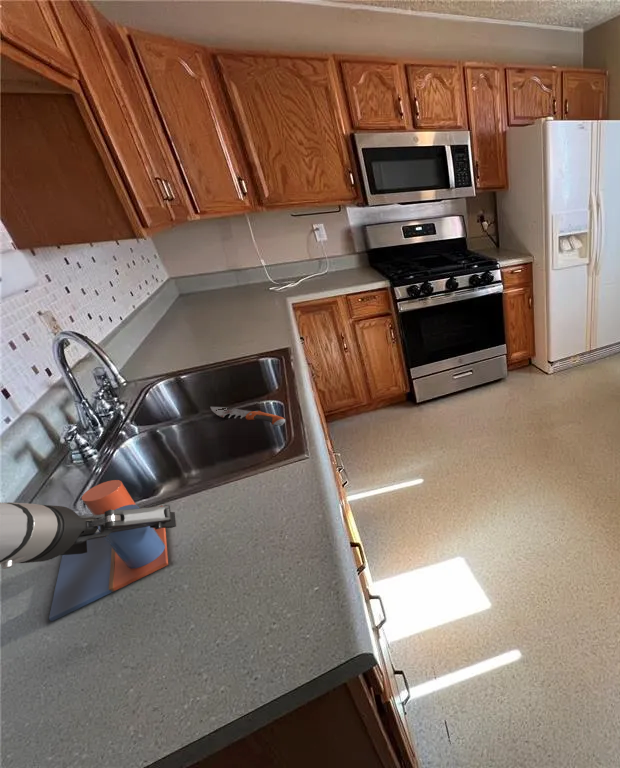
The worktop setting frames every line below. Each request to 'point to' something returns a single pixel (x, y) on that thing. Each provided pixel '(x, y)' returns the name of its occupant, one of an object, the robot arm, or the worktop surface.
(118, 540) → the blue canister
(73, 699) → the worktop surface
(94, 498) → the orange canister
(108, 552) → the sorting board
